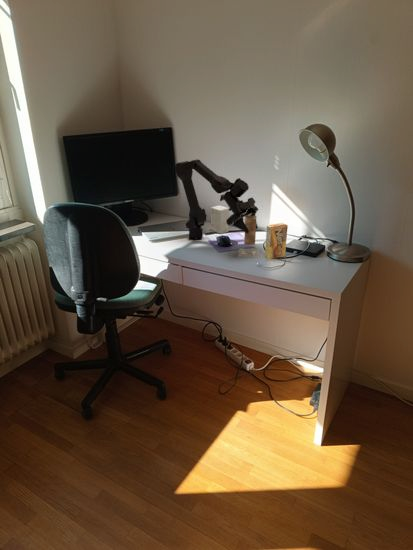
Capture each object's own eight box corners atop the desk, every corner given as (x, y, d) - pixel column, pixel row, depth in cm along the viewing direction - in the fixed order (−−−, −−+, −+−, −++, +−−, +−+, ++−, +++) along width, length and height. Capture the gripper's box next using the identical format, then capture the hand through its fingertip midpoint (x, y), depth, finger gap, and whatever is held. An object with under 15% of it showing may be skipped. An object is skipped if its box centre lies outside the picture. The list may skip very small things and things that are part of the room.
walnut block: (244, 244, 193) (245, 218, 188) (244, 240, 198) (245, 215, 192) (255, 244, 193) (256, 219, 187) (254, 241, 197) (256, 215, 192)
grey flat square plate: (238, 257, 194) (238, 256, 193) (238, 249, 203) (238, 248, 202) (260, 257, 193) (260, 257, 192) (259, 249, 202) (259, 249, 201)
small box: (229, 231, 226) (229, 208, 220) (220, 234, 222) (220, 210, 217) (219, 227, 232) (219, 205, 226) (210, 230, 228) (210, 207, 222)
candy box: (280, 253, 197) (282, 222, 191) (285, 256, 194) (288, 225, 187) (264, 256, 194) (266, 225, 187) (269, 259, 190) (271, 227, 184)
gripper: (232, 197, 181) (252, 226, 180) (255, 188, 194) (274, 216, 192) (217, 211, 189) (236, 239, 187) (241, 202, 202) (259, 228, 200)
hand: (252, 230), depth 192 cm, fingers closed on walnut block, 7 cm apart
